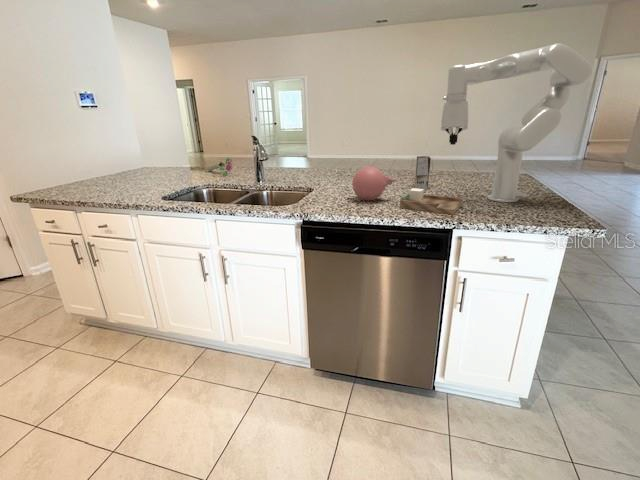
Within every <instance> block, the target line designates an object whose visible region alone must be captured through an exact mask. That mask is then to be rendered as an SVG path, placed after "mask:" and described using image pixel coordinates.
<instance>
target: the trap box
mask: <svg viewBox="0 0 640 480" xmlns="http://www.w3.org/2000/svg"><path fill="white" fill-rule="evenodd" d="M462 199H463V198H462V197H454V196H446V195H445V196H442V195H433V194H425V193H424V196H423V199H421V200H412V199H409V192H407V193H406V194H404V195H403V196H401V197H400V201H399V209H405V210H414V211H420V212H421V211H422V212H430V213H435V214H436V213H438V214H444V215H445V214H446V215H452V216H454V215H455V214H456V212H458V210H459V209H460V208H461V206H462Z"/></svg>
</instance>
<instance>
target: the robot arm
mask: <svg viewBox="0 0 640 480" xmlns="http://www.w3.org/2000/svg"><path fill="white" fill-rule="evenodd" d="M592 69H593V67H592V65H591V63H590V62H589V61H588V60H587V59H586V58H584V57H583V56H582V55H581V54H580V53H578V52H577V51H575V50H574V49H572V48H571V47H569V45H566V44H564V43H559V42H558V43H553V44H550V45H546V46H542V47H539V48H534V49H529V50H526V51H525V50H523V51H519V52H516V53H511V54H508V55H505V56H503V57H500V58H497V59H493V60H490V61H486V62H475V63H472V64H456V65H452V66H450V67H449V69H448V74H447V77H448V78H447V88H446V91H447V92H446V95H444V96H443V97H442V100H444V101H445V102H444V104H443V108H442V112H441V113H442V114H441V127H440V130H441V131H443V132H446V133H447V134H448V135H449V139H448V140H449V143H450V146H451V145H454V146H455V145H456V143H458V138H459V137H458V136H459V134H460V133H461V132H462V131H465V130H468V129H469V126H468V123H469V104H468V103H469V102H468V101H467V94H468V93H467V91H468V85H469V86H472V85H477V84H482V83H485V82H489V81H496V80H503V79H510V78H515V77H520V76H524V75H528V74H533V73H538V72H542V71H547V70H552V71H551V74H550V76H549V86H548V90H547V92H546V94H544V96H543V97H541V99H540V100H539V101H537V103H535V104H534V105H533V106H532V107H531V108H529V110H527V111H526V112H525V113H524V115H522V118H521V126H517V125H514V126H509V127H506V128H505V129H503V130H502V131H501V133H500V134H499V135H498V140H497V144H498V145H497V150H498V151H497V159H496V164H495V172H494V178H493V184H492V189H491V193H490V194H488V195H487V197H486V198H487V199H488V200H490V201H492V202H498V203H517V202H518V201H519V199H520V198H522V199H523V198H525V199H527V197H528V193H525V192H520V191H518V182H519V178H520V172H521V167H522V161H523V152H524V153H525V152H527V151H530V150H532V149H533V148H535V147H536V146H538V144H540V143H541V142H542V141H543V140H544V139H545V138H547V137H548V136H549V135H550V134H551V133H552V132H554V130H556V129H557V128H558V126H559V124H560V122H561V120H562V119H561V118H562V114H561V110H562V109H563V108H564V107H565V106H566V104H567V102H568V101H569V97H570V93H571V92H570V91H571V87H572V86H573V87H574V86H579V85H582V84H584V83H585V82H586V81H588V79H590V77H591V75H592V71H593V70H592ZM453 128H455V131H454V129H453Z"/></svg>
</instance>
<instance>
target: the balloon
mask: <svg viewBox="0 0 640 480" xmlns="http://www.w3.org/2000/svg"><path fill="white" fill-rule="evenodd" d="M351 182H352V186H351V187H352V190H353V192H354V194H355V195H356V196H357V197H358V198H359V199H362V200H364V201H373V200H376V199H378V198H380V197H381V195H383V193H384V191H385V190H386V187H387V186H389V185H391V186H392V184H393V183H396V182H397V179H395V178H393V176H392V175H389V176H388V175H385V174H384V173H383V171H381V170H380V169H378V168H377V167H374V166H365V167H362V168H360V169H359V170H358V171H357V172H356V173H355V174H354V176H353V178H352V181H351Z"/></svg>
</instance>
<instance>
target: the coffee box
mask: <svg viewBox="0 0 640 480" xmlns="http://www.w3.org/2000/svg"><path fill="white" fill-rule="evenodd" d="M431 159H432V158H431V157H430V155H429V156H428V155H420V156H419V155H417V156H416V163H415V164H416V165H415V179H414V188H417V189H424V190H428V186H429V179H430V168H431Z"/></svg>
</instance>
